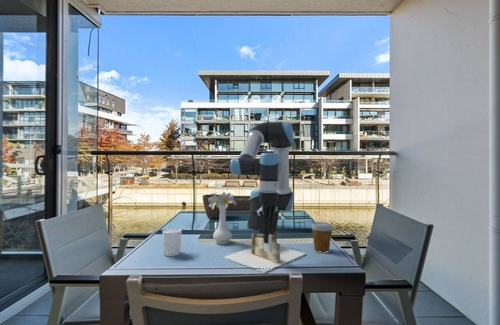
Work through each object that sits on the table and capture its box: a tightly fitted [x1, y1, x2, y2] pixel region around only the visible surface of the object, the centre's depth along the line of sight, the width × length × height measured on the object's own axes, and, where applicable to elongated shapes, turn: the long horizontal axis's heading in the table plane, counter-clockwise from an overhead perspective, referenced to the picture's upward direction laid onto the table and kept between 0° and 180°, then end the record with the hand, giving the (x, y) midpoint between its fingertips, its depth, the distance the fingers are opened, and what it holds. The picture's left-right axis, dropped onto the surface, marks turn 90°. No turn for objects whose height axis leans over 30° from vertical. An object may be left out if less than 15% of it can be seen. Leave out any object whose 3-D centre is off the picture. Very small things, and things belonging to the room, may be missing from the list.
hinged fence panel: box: [255, 237, 281, 263], centre depth 111 cm, size 13×2×7 cm, turn 41°
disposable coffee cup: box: [310, 221, 334, 252], centre depth 124 cm, size 10×10×12 cm
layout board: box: [223, 246, 307, 269], centre depth 115 cm, size 28×22×1 cm
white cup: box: [162, 228, 183, 257], centre depth 117 cm, size 8×8×10 cm
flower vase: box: [208, 191, 237, 245], centre depth 135 cm, size 13×18×25 cm
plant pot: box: [201, 193, 220, 219], centre depth 195 cm, size 15×15×16 cm
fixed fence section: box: [251, 228, 278, 254], centre depth 122 cm, size 16×2×8 cm, turn 137°
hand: (267, 250), depth 108 cm, fingers closed
